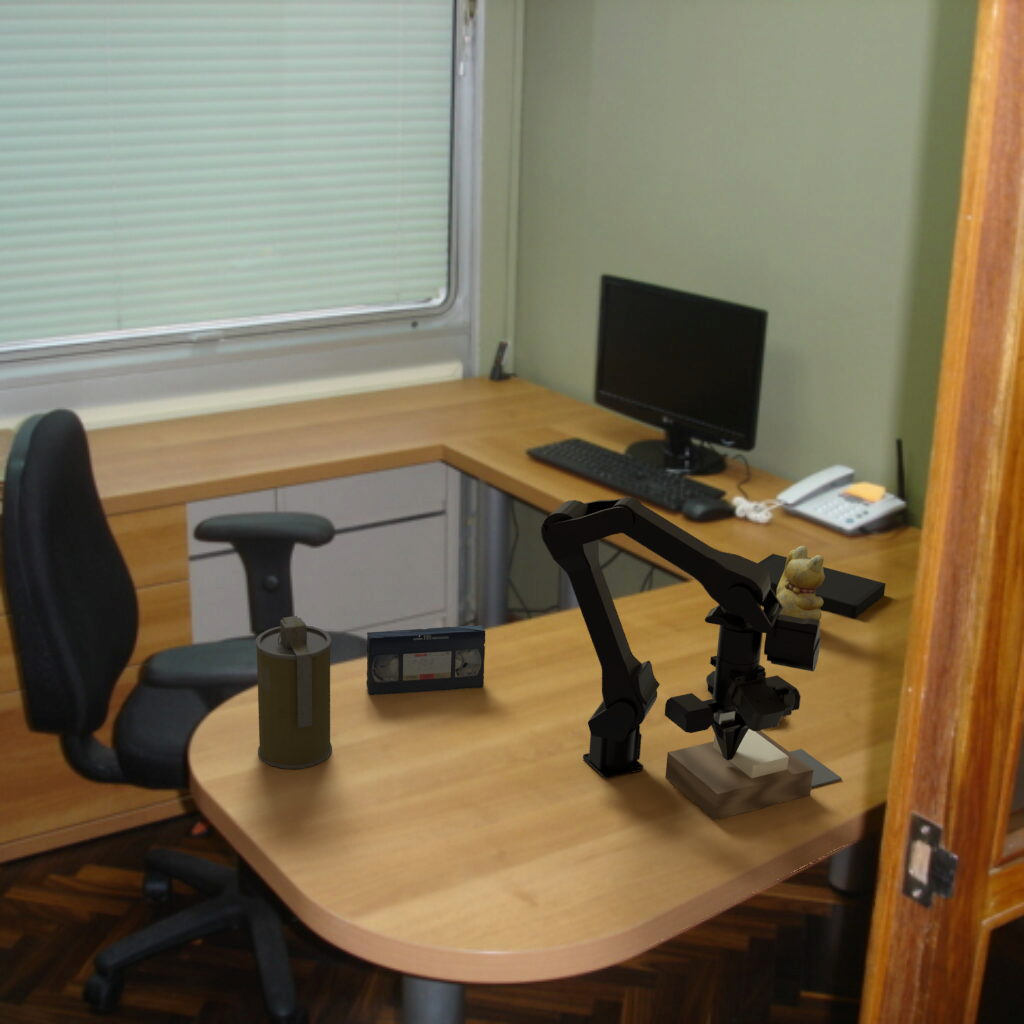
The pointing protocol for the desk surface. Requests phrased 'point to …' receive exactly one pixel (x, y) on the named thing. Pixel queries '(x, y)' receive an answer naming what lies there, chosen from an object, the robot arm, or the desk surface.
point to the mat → (816, 769)
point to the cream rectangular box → (757, 756)
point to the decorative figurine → (801, 585)
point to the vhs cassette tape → (425, 660)
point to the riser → (734, 781)
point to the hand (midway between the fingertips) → (727, 758)
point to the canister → (294, 694)
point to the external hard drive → (834, 588)
